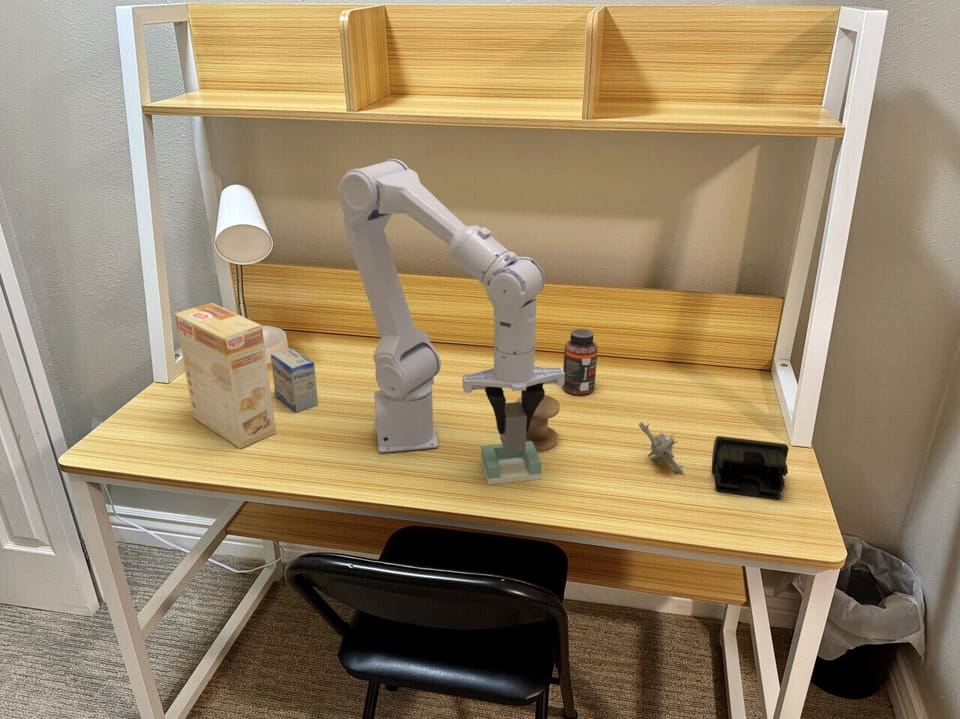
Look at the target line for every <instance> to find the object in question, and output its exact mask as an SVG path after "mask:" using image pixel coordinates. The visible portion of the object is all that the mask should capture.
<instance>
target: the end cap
mask: <svg viewBox="0 0 960 719" xmlns="http://www.w3.org/2000/svg"><path fill="white" fill-rule="evenodd" d="M789 450H790V449H789V446H788V445H787V443H781V442H780V443H779V442H774V441H773V442H771V441H763V440H756V439H755V440H754V439H746V438H740V437H739V438H738V437H737V438H736V437H728V436H722V435H717V436H715V439H714V442H713V447H712V456H711V473H712V474H714V489H715V492H716V493H719V494H726V495H733V496H734V495H735V496H742V497H750V498H756V499H757V498H758V499H762V500H763V499H764V500H773V501H780V499H781V496H782V495H781V493H783V490H784V488H785V487H786V484H785V479H784V478H785V477H787V474H788V473H789V471H788V466H787V458H788V453H789Z"/></svg>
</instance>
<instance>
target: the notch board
mask: <svg viewBox="0 0 960 719" xmlns="http://www.w3.org/2000/svg"><path fill="white" fill-rule="evenodd" d="M480 450H481V453H480V457H481V458H480V461H481V462H480V463H481V466H482V469H483V472H484V475H485V478H486V479H485V480H486V482H487V484H488V485H495V484H496V485H498V484H507V483H508V484H509V483H516V482H517V483H518V482H527V481H536V480H542V464H543V463H542V460H541V458H540V455H539V453H538V451H536V449H535V447H534V445H533V442H532V441H529V442H526V451H518V452H508V453H505V450H504V447H503V445H502V443H499V444H498V443H497V444H490V445H487V444H486V445H481V449H480Z"/></svg>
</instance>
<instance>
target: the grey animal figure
mask: <svg viewBox="0 0 960 719" xmlns="http://www.w3.org/2000/svg"><path fill="white" fill-rule="evenodd" d="M649 425H650V423H647V425H645V423H644V422H643V421H640V422H639V423H638V427H639V428H640V430H642V432H643V433H645V434H646V436H647V437H648V438H649V441H650V442H651V445H650V449H651V450H650V451H651V452H650V453H648V454H647V457H651V456H652V455H654V456H656V457H660V458H663V459H665V460H666V461H667V462H668V463H669V464H670V465H671V466H672V467H673V470H674V471H675V472H676V473H677V474H678V475H684V473H685V472H684V471H683V469H682V468H683V467H685V465H678V464H677V463H676V461H675V460H674V458H675V456H674V454H673V452H672V447H674V445H675V444H676V443H678V442H679V440H675V439H674V438H673V436H674V434H673V433H671V435H669V436H668V437H667V435H666V433H664V432H662V433H659V434H658V436H657V435H653V434H652V432H651V431H650V430H649Z"/></svg>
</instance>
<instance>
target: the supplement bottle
mask: <svg viewBox="0 0 960 719" xmlns="http://www.w3.org/2000/svg"><path fill="white" fill-rule="evenodd" d="M598 349H599V348H598V345H597V344H596V343H595V342H594V332H593V331H592V330H590V329H587V328H575V329H573V330H571V332H570V339H569V340H568V341H567V342H566V343H565V345H564V352H563V366H562V367H563V368H562V370H563V371H564V373H565V377H564V385H562V389H563V390H564V391H565V392H567V393H568V394H572V395H578V396H585V395H589V394H591V393H592V392H593V391H594V390H595V386H596V376H597V375H596V373H597V362H598Z"/></svg>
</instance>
